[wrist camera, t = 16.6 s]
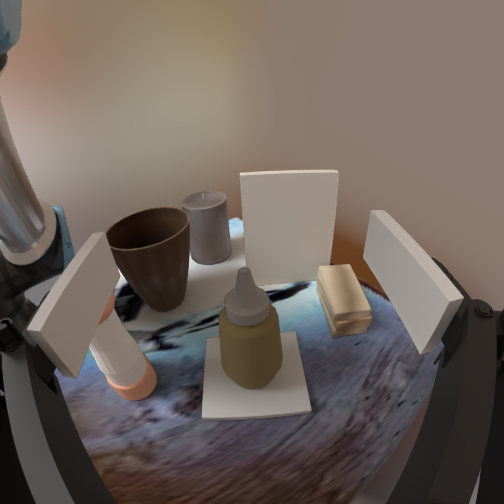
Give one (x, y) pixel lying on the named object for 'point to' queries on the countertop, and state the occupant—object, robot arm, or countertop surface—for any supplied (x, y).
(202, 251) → the pillar candle
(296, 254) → the panel
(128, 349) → the pepper shaker
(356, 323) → the offcut stack
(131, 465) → the countertop surface
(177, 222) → the plant pot
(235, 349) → the squeeze bottle
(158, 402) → the countertop surface
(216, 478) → the countertop surface
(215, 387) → the grey mat
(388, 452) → the countertop surface
